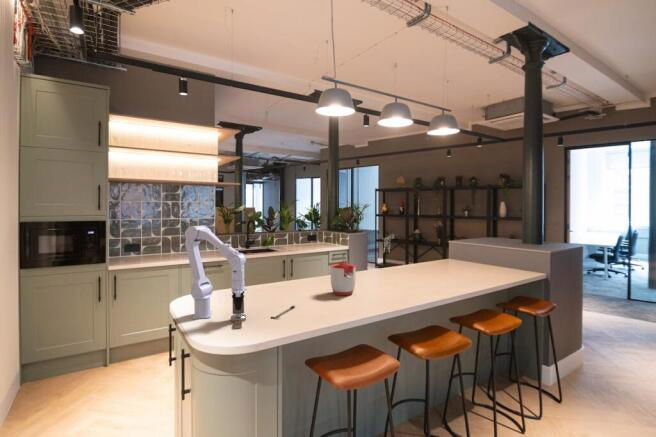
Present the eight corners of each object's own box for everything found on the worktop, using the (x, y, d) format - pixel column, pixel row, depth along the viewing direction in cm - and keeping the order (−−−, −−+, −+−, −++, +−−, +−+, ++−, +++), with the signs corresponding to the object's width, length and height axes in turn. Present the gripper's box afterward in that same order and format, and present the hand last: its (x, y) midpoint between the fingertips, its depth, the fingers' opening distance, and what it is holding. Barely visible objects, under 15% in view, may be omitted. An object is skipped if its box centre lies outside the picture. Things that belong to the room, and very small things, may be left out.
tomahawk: (281, 322, 170) (281, 320, 170) (269, 319, 173) (270, 317, 173) (303, 309, 189) (303, 307, 189) (292, 307, 192) (292, 305, 192)
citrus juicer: (338, 298, 209) (338, 264, 208) (326, 291, 224) (326, 259, 224) (362, 295, 215) (362, 262, 214) (348, 289, 231) (348, 258, 230)
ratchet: (230, 318, 173) (230, 308, 172) (245, 317, 174) (245, 307, 174) (230, 329, 158) (229, 318, 157) (246, 328, 159) (246, 317, 159)
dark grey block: (232, 311, 172) (232, 298, 171) (243, 310, 173) (243, 297, 173) (232, 314, 167) (232, 301, 166) (244, 313, 168) (243, 300, 168)
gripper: (247, 282, 163) (247, 312, 164) (246, 276, 177) (246, 303, 178) (230, 283, 161) (231, 313, 162) (231, 276, 176) (231, 304, 176)
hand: (238, 308), depth 170 cm, fingers closed on dark grey block, 5 cm apart
